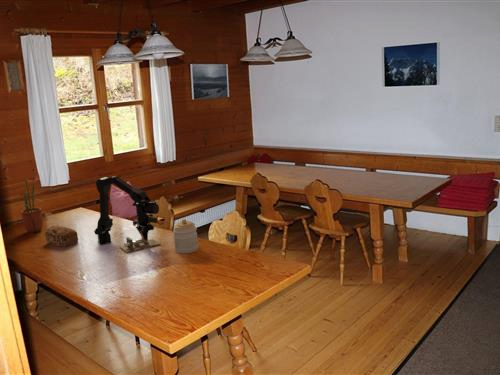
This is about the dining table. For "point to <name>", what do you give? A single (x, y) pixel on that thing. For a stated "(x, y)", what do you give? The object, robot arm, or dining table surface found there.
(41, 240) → the dining table surface
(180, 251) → the jar
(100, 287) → the dining table surface
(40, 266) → the dining table surface
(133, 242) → the bolt
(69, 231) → the bread
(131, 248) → the latch board
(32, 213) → the potted plant
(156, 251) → the dining table surface
